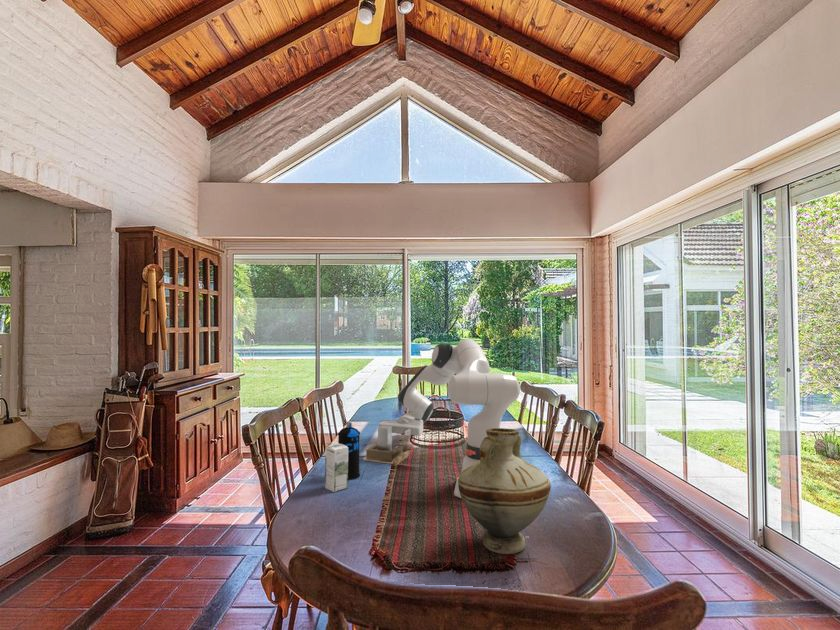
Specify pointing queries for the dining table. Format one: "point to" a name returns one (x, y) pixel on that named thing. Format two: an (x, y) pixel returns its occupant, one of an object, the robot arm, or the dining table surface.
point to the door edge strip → (401, 458)
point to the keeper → (383, 454)
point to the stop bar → (385, 438)
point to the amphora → (503, 491)
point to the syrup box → (336, 467)
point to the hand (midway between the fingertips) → (393, 432)
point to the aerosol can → (351, 448)
